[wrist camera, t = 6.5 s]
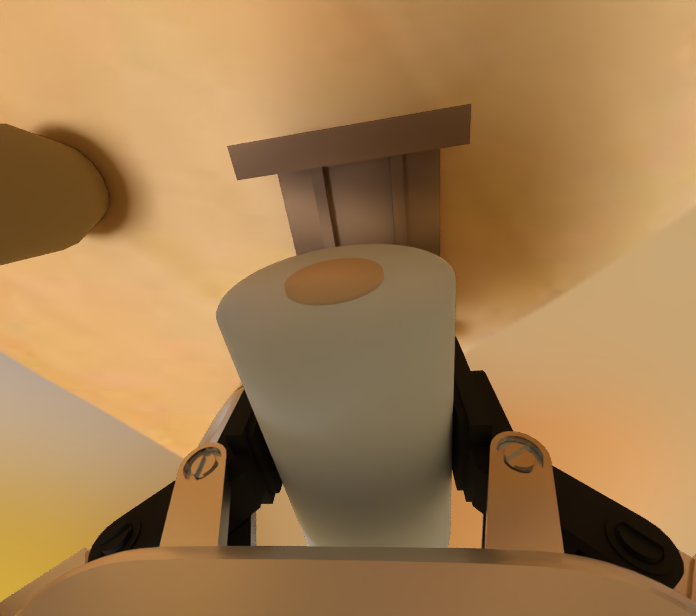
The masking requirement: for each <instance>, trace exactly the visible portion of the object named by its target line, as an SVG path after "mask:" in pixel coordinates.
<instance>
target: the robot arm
mask: <svg viewBox="0 0 696 616" xmlns="http://www.w3.org/2000/svg"><path fill="white" fill-rule="evenodd" d="M452 471H453V476H454V480H455V484H456V488H457V490H463V491H464V495H465V499H466V502H472V505H473V506H474V507H475V508H476V509H477V510H479V511H480V512H482V513H483V520H482V521H483V522H482V539H481V549H475V548H416V547H329V546H256V511H257V510H258V509H259V508H260V506H261V504H273V500H274V497H275V493H279V492H280V490H281V487H282V480H281V478H280V475H279V473H278V470H277V468H276V465H275V463H274V460H273V458H272V456H271V453H270V451H269V448H268V446H267V443H266V441H265V438H264V436H263V433H262V431H261V429H260V426H259V424H258V421H257V419H256V416H255V414H254V411H253V409H252V407H251V404H250V402H249V399H248V397H247V394H246V392H245V389H244V390H243V392H242V394H241V396H240V398H239V400H238V402H237V404H236V406H235V408H234V410H233V412H232V414H231V416H230V418H229V420H228V422H227V424H226V426H225V427H224V429H223V431H222V433H221V435H220V437H219V439H218V441H217V443H207V444H204V445H202V446H199V447H198V448H196V449H195V450H193V451H192V452H191V453H189V454H188V455H187V456H186V457H185V459H184V460H183V462H182V463H181V464H180V467H179V469H178V473H177V477H176V480H175V481H173V482H172V483H171V484H169V485H168V486H166V487H165V488H163V489H162V490H160V491H159V492H157V493H156V494H154V495H153V496H151V497H150V498H148V499H147V500H145V501H144V502H142V503H141V504H139V505H138V506H136V507H135V508H133V509H132V510H130V511H129V512H127V513H126V514H124V515H123V516H122V517H120V518H119V519H117V520H116V521H114V522H113V523H112V524H111V525H110V526H108V527H107V528H106V529H105V530H104V531H103V532H102V533H101V534H100V535H99V537H98V538H97V540H96V541H95V542H94V544H93V546H92V548H91V549H90V550H87V549H86V548H84V549H82V550H80V551H79V552H77V553H76V554H74V555H73V556H71V557H70V558H68V559H67V560H65V561H63V562H62V563H60V564H59V565H57V566H56V567H54V568H53V569H51V570H49V571H48V572H46V573H45V574H43V575H42V576H40V577H39V578H37V579H35V580H34V581H32V582H31V583H29V584H28V585H26V586H25V587H23V588H22V589H20V590H19V591H17V592H15V593H14V594H12V595H11V596H9V597H8V598H6V599H4V600H3V601H2V602H0V616H696V554H695V555H694V556H693V558H692V557H690V556H688V555H687V554H685V553H683V552H681V551H680V550H678V549H677V548H676V546H675V545H674V544H673V542H672V541H671V540H670V538H669V537H668V536H666V535H665V534H664V533H663V532H662V531H661V530H660V529H659V528H658V527H656V526H655V525H654V524H652V523H651V522H649V521H648V520H646V519H645V518H643V517H641V516H640V515H638V514H636V513H634V512H633V511H631V510H629V509H627V508H626V507H624V506H622V505H620V504H619V503H617V502H615V501H613V500H611V499H610V498H608V497H606V496H605V495H603V494H601V493H599V492H598V491H596V490H594V489H592V488H591V487H589V486H587V485H585V484H584V483H582V482H580V481H578V480H577V479H575V478H573V477H571V476H570V475H568V474H566V473H564V472H562V471H561V470H559V469H557V468H556V467H554V466H552V462H551V458H550V455H549V453H548V451H547V450H546V449H545V447H544V446H543V445H542V444H541V443H540V442H538V441H537V440H536V439H534V438H532V437H530V436H529V435H527V434H524V433H520V432H514V431H513V430H512V428H511V426H510V424H509V421H508V419H507V417H506V415H505V413H504V411H503V409H502V407H501V405H500V403H499V400H498V398H497V396H496V394H495V392H494V390H493V388H492V386H491V384H490V382H489V380H488V377H487V375H486V373H485V372H484V371H483V370H481V371H470V368H469V366H468V364H467V361H466V359H465V356H464V354H463V352H462V349H461V347H460V344H459V342H458V340H457V338H456V336H455V355H454V398H453V441H452Z"/></svg>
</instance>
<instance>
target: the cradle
mask: <svg viewBox="0 0 696 616" xmlns="http://www.w3.org/2000/svg"><path fill="white" fill-rule="evenodd" d="M470 119H471V104H467V105H461V106H456V107H450V108H444V109H438V110H433V111H427V112H421V113H415V114H409V115H404V116H398V117H392V118H386V119H381V120H375V121H369V122H363V123H358V124H352V125H346V126H340V127H335V128H329V129H323V130H317V131H311V132H306V133H300V134H294V135H288V136H283V137H277V138H271V139H265V140H260V141H254V142H248V143H242V144H236V145H231V146H227V147H228V151H229V154H230V157H231V161H232V164H233V167H234V171H235V174H236V178H237V180H242V179H248V178H254V177H261V176H267V175H274V174H278V178H279V182H280V186H281V191H282V195H283V199H284V203H285V207H286V212H287V216H288V220H289V224H290V229H291V233H292V237H293V241H294V246H295V250H296V254H297V255H301V254H305V253H308V252H312V251H317V250H322V249H327V248H333V247H340V246H348V245H359V244H392V245H402V246H409V247H414V248H418V249H422V250H425V251H428V252H431V253H433V254H435V255H437V256H439V257H440V148H445V147H452V146H458V145H464V144H470Z"/></svg>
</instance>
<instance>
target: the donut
mask: <svg viewBox="0 0 696 616" xmlns="http://www.w3.org/2000/svg"><path fill="white" fill-rule="evenodd" d="M243 390H244V387H242V388H240V389H238V390H237V391H236V392H234V393H233V394H232V395H231V396H230V398H229V399H228V400H227V401H226V403H225V404H224V405H223V407H222V408H221V410H220V411H219V413H218V414H217V415H216V417H215V419H214V420H213V422H212V423H211V425H210V426H209V428H208V430H207V431H206V433H205V435H204V437H203V438H202V440H201V442H200V444H199V446H202V445H204V444H207V443H217V441H218V439H219V437H220V435H221V433H222V431H223V429H224V427H225V426H226V424H227V422H228V420H229V418H230V416H231V414H232V412H233V410H234V408H235V406H236V404H237V402H238V400H239V398H240V396H241V394H242V392H243ZM199 446H198V447H199ZM198 447H197V448H198Z"/></svg>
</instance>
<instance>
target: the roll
mask: <svg viewBox="0 0 696 616" xmlns="http://www.w3.org/2000/svg"><path fill="white" fill-rule="evenodd" d="M455 311H456V275H455V272H454V269H453V268H452V267H451V265H450V264H449V263H448V262H446V261H445V260H444V259H443V258H441V257H439V256H437V255H435V254H433V253H431V252H428V251H425V250H422V249H418V248H414V247H409V246H402V245H392V244H359V245H348V246H340V247H333V248H327V249H322V250H317V251H312V252H308V253H305V254H301V255H297V256H294V257H291V258H288V259H285V260H282V261H279V262H277V263H274V264H272V265H269V266H267V267H265V268H263V269H261V270H259V271H257V272H255V273H253V274H251V275H250V276H248V277H246V278H245V279H243V280H242V281H240V282H239V283H238V284H236V285H235V286H234V287H233V288H232V289H231V290H230V291H228V292H227V294H226V295H225V296H224V297H223V298H222V300H221V302H220V304H219V305H218V308H217V312H216V320H217V323H218V325H219V328H220V330H221V333H222V335H223V338H224V340H225V343H226V345H227V348H228V350H229V353H230V355H231V357H232V360H233V362H234V365H235V367H236V370H237V372H238V375H239V377H240V380H241V382H242V384H243V387H244V389H245V392H246V394H247V397H248V399H249V402H250V404H251V407H252V409H253V411H254V414H255V416H256V419H257V421H258V424H259V426H260V429H261V431H262V433H263V436H264V438H265V441H266V443H267V446H268V448H269V451H270V453H271V456H272V458H273V460H274V463H275V465H276V468H277V470H278V473H279V475H280V478H281V480H282V483H283V485H284V487H285V490H286V492H287V495H288V497H289V500H290V502H291V505H292V507H293V509H294V512H295V514H296V517H297V519H298V522H299V524H300V527H301V529H302V532H303V534H304V537H305V539H306V541H307V544H308V546H329V547H416V548H448V545H449V539H450V526H451V484H452V483H451V482H452V480H451V479H452V441H453V398H454V355H455Z"/></svg>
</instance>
